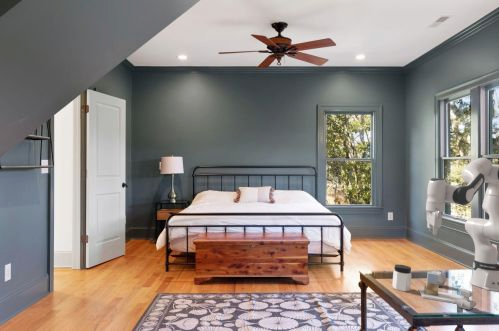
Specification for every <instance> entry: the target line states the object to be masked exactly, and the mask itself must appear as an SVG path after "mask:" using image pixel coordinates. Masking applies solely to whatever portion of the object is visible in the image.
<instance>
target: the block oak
mask: <svg viewBox="0 0 499 331" xmlns="http://www.w3.org/2000/svg"><path fill="white" fill-rule="evenodd" d="M423 287H424V288H423V289H424V291H425V293H426V294H429V295H436V296H438V292H439V288H440V286H439V285H438V284H437V285H436V284H430V283H427V279H426V280H424V286H423Z"/></svg>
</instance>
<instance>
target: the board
mask: <svg viewBox="0 0 499 331" xmlns="http://www.w3.org/2000/svg"><path fill="white" fill-rule="evenodd" d="M418 292H419V294H420V296H421V297H422V299H426V300H432V301H439V302H445V303H452V304H456V300H457V299H460V298H463V297H462V296H463V295H461V294H456V293H455V294H453V293H448V292H444V291H443V292H441V291H438V296H436V295H429V294H426V293H425V291H424V288H418Z"/></svg>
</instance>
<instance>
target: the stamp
mask: <svg viewBox="0 0 499 331" xmlns="http://www.w3.org/2000/svg"><path fill="white" fill-rule="evenodd" d="M459 292H460V293H459V294H460V295H461V296H463V297H462V298H460V299H457V300H456V303H455V304H456V305H457V306H458V308H461V309H463V310H466V309H468V310H467V311H470V310H472V308H473V309H474V308H476V306H477V304H478V303H477V302H476V301H474V300H471V299H470V297H473V296H474V295H473V293H474V292H473V291H471V290H467V289H464V288H463V289H460V290H459ZM469 309H470V310H469Z"/></svg>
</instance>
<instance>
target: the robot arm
mask: <svg viewBox="0 0 499 331" xmlns="http://www.w3.org/2000/svg"><path fill="white" fill-rule="evenodd" d="M460 175H461V178H462V180H463V181H464V182H465V183H466V184H467V185H452V184H450V183H447V182H446V179H445V178H443V177H433V178H430V179H429V181H428V183H427V190H426V196H427V199H426V201H425V202H426V203H425V211H426V222H427V223H428V228H429V229H428V231H429V233H432V235H433V236H437V235H438V230H439V229H440V228H441V227H442V225H443V222H442V220H443V214H442V213H444V212H445V205H446V203H448V204H456V205H461V206H467V205H469V204H470V203H471V202H472V200H473V199H474V197H475V195H476V194H477V193H478V191H479V190H480V189H481V188H482V187H483V185H484V184H485V183H486V184H488V185H487V187H486V190H485V193H484V197H483V201H482V206H481V207H482V208H481V209H482V210H483V211H484V212H485V213H486V214H488V217H489V218H480V217H471V218H468V219H467V220H466V221H465V223H464V228H465V231H466V233H468V235H469V236H470V238H471V239H472V242H473V244H474V259H473V262H472V269H473V270H472V273H471V278H470V280H469V284H471V285H472V286H475V287H477V288H482V289H484V290H487V291H490V292H491V291H493V292H499V264H498V253H499V251H498V249H497V248H496V247H495V246H494V245H493V244H492V243H491V241H490V240H494V241H499V164H493V163H492V161H491V160H490V159H488V158H486V157H479V158H476V159H474V160H472V161H471V162H469V163H467V164H466V165H465V166H464V167H463V168H461V174H460Z"/></svg>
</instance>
